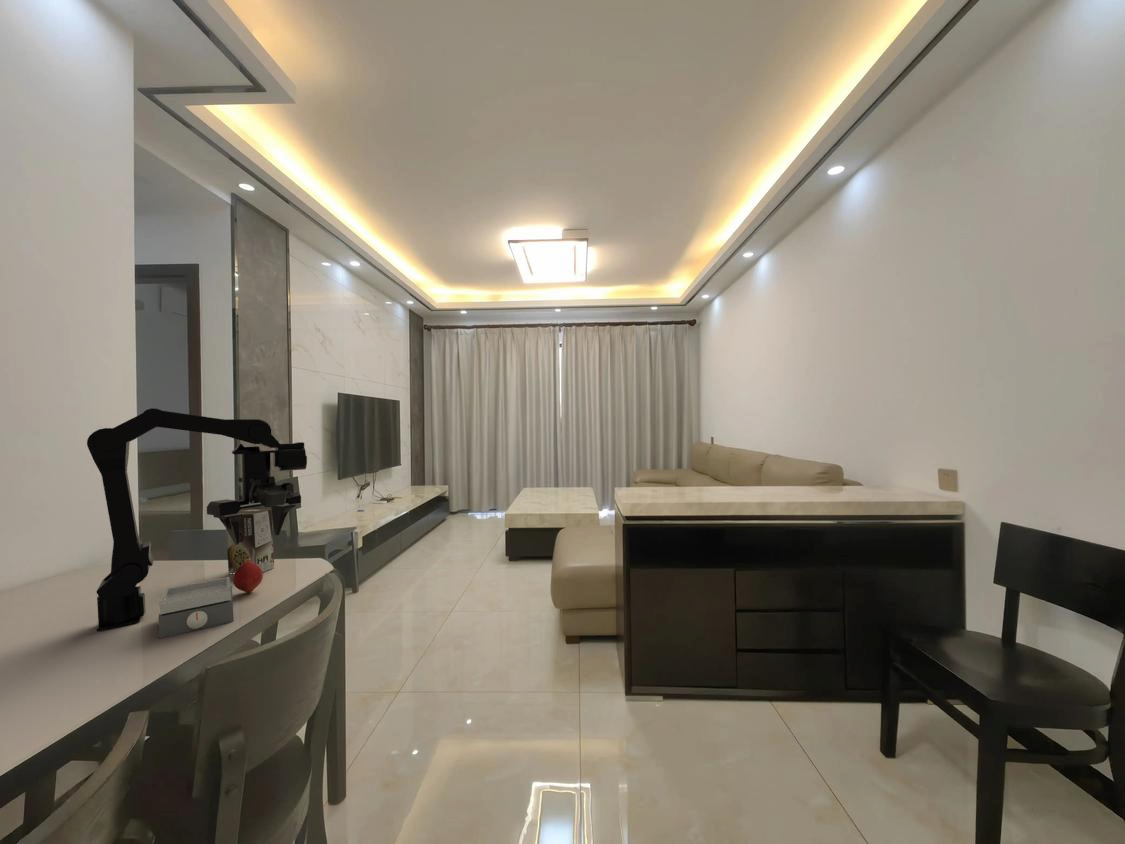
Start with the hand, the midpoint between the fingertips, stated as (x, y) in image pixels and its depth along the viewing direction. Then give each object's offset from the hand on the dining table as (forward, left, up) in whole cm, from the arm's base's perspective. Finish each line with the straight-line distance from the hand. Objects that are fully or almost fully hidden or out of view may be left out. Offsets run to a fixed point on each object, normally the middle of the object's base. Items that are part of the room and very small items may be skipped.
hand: (257, 539), depth 113 cm
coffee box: (-1, +21, -13) cm, 24 cm away
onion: (-2, +1, -13) cm, 13 cm away
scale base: (-11, -11, -12) cm, 20 cm away
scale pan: (-11, -11, -8) cm, 17 cm away
